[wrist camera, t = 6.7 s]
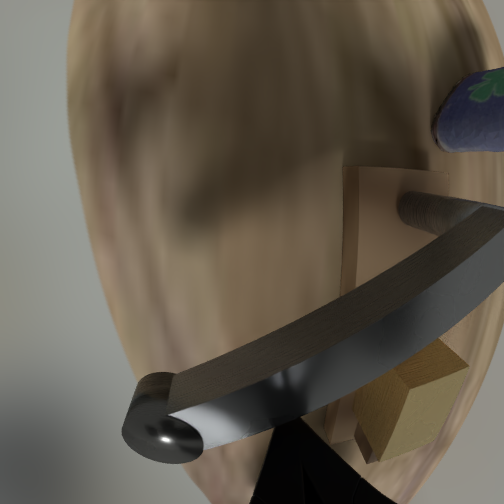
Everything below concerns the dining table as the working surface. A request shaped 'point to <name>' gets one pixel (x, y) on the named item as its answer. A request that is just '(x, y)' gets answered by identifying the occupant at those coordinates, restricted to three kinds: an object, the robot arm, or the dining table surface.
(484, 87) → the flask
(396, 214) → the plane body
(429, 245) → the lever
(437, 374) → the light wooden cube
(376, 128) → the dining table surface
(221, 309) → the dining table surface
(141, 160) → the dining table surface
